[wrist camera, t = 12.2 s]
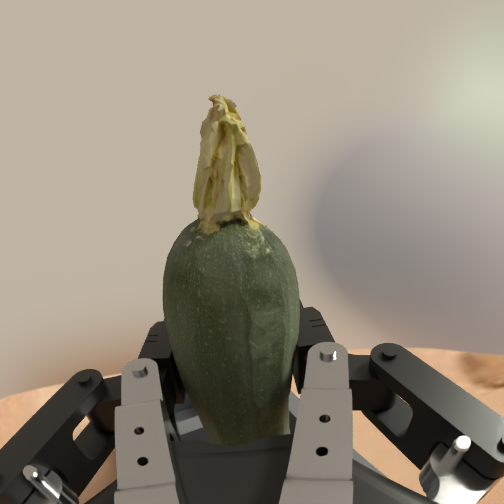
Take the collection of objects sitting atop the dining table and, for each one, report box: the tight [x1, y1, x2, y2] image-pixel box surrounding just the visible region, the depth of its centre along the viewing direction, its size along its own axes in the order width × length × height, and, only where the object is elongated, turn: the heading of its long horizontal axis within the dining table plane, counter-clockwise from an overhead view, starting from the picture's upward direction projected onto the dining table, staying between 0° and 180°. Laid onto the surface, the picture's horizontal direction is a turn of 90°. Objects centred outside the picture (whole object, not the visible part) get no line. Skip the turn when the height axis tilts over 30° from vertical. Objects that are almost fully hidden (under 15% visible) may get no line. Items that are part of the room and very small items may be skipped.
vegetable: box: [163, 95, 300, 446], centre depth 11 cm, size 4×4×20 cm
